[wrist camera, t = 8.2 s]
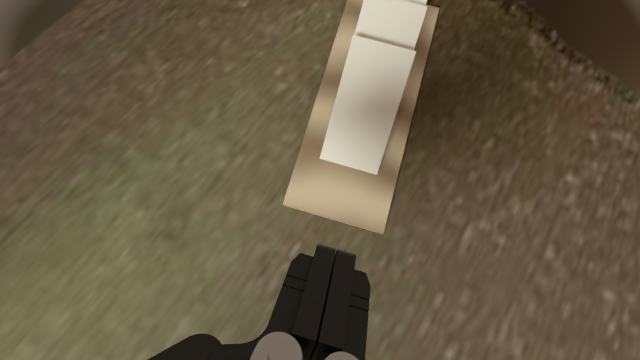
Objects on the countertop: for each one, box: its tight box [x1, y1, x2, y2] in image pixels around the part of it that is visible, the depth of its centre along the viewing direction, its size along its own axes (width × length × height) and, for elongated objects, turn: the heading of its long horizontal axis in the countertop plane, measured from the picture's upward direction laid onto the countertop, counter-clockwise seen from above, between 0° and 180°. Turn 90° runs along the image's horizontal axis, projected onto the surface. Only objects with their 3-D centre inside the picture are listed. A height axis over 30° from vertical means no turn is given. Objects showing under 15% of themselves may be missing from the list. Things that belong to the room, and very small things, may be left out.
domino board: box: [283, 0, 439, 234], centre depth 29 cm, size 23×9×1 cm, turn 164°
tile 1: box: [319, 35, 416, 175], centre depth 25 cm, size 2×5×10 cm
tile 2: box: [354, 0, 428, 51], centre depth 26 cm, size 2×5×10 cm
